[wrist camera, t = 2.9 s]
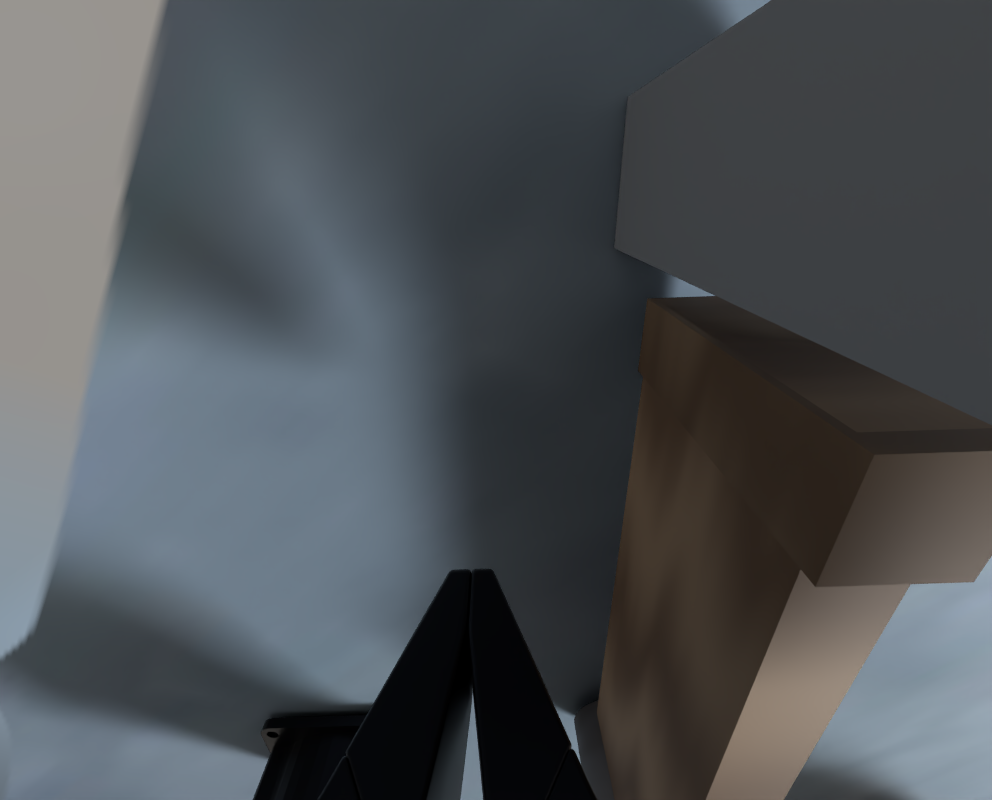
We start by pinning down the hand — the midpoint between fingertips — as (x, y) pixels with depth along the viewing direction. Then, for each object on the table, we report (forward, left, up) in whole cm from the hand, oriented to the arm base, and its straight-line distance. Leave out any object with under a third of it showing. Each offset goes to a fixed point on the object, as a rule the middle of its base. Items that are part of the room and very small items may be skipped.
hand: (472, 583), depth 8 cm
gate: (+5, -5, -4) cm, 9 cm away
